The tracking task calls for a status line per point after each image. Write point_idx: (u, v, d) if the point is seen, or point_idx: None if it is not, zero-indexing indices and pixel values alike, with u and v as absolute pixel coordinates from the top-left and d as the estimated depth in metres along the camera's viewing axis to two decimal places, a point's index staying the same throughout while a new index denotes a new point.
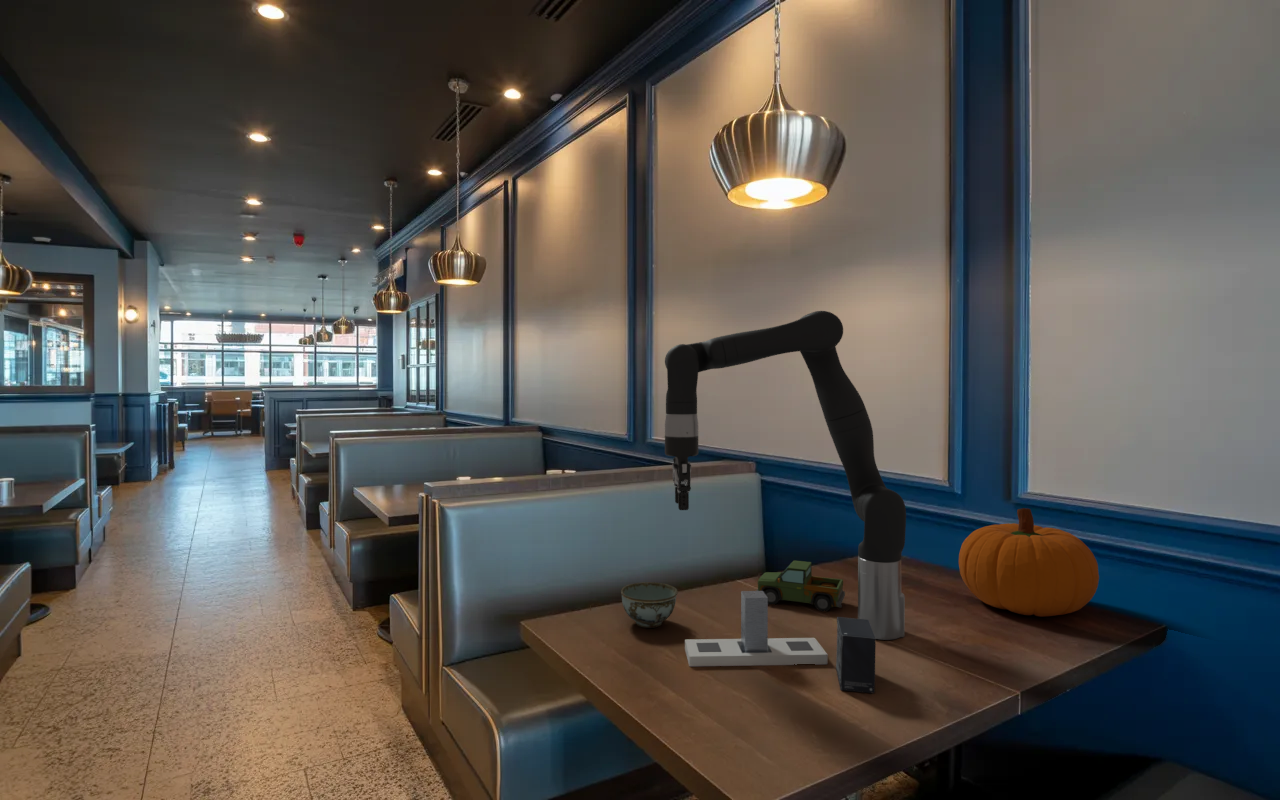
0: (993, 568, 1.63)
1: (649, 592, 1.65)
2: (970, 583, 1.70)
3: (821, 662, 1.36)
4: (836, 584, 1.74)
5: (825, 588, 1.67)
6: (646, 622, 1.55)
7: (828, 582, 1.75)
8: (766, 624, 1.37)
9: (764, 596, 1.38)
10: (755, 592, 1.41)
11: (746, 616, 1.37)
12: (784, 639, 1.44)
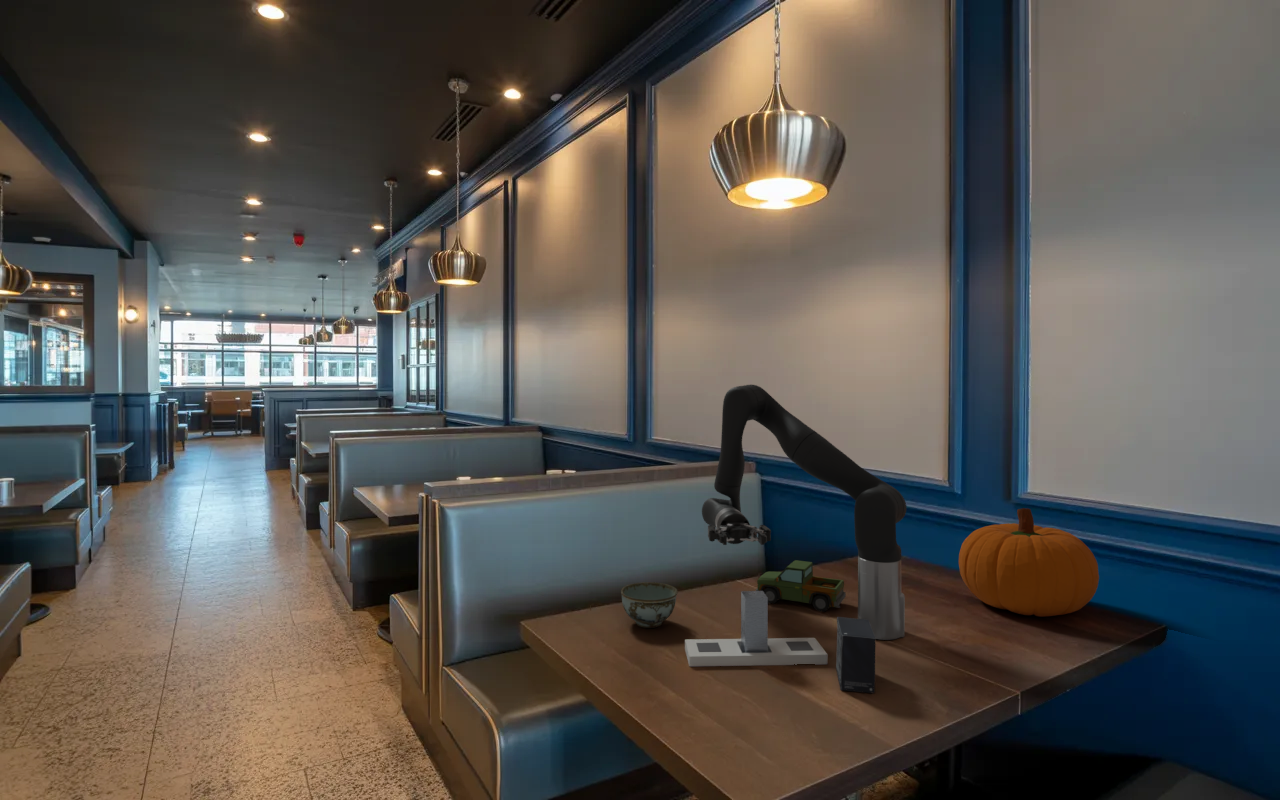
0: (993, 568, 1.63)
1: (648, 592, 1.65)
2: (970, 583, 1.70)
3: (821, 662, 1.36)
4: (837, 585, 1.74)
5: (823, 588, 1.67)
6: (646, 622, 1.55)
7: (829, 582, 1.75)
8: (766, 624, 1.37)
9: (764, 596, 1.38)
10: (755, 592, 1.41)
11: (746, 616, 1.37)
12: (784, 639, 1.44)
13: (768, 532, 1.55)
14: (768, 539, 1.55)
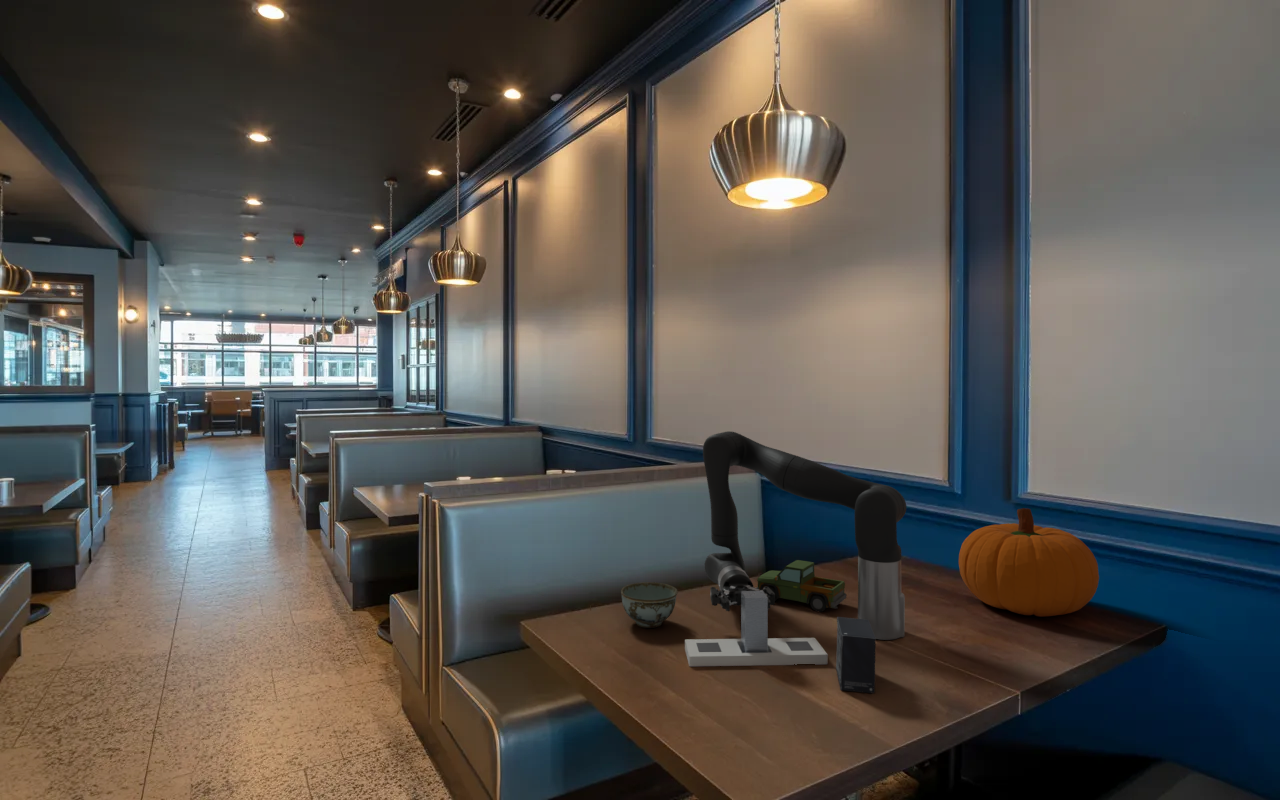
0: (993, 568, 1.63)
1: (648, 592, 1.65)
2: (970, 583, 1.70)
3: (821, 662, 1.36)
4: None
5: (821, 588, 1.67)
6: (646, 622, 1.55)
7: (830, 583, 1.74)
8: (766, 624, 1.37)
9: (764, 596, 1.38)
10: (755, 592, 1.41)
11: (746, 616, 1.37)
12: (784, 639, 1.44)
13: (772, 596, 1.51)
14: (772, 603, 1.51)
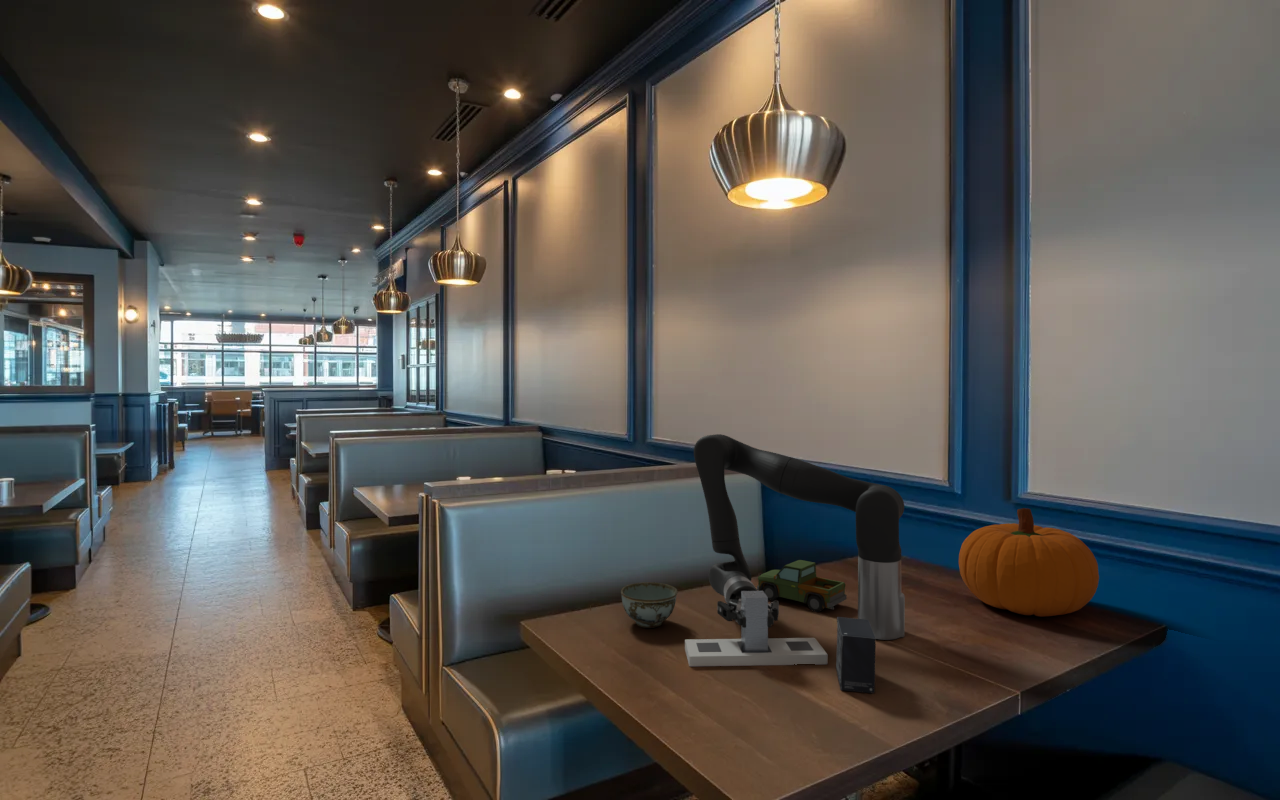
0: (993, 568, 1.63)
1: (648, 592, 1.65)
2: (970, 583, 1.70)
3: (821, 662, 1.36)
4: None
5: (817, 589, 1.67)
6: (646, 622, 1.55)
7: (830, 584, 1.73)
8: (767, 624, 1.37)
9: (764, 596, 1.38)
10: (755, 592, 1.41)
11: (746, 616, 1.37)
12: (784, 639, 1.44)
13: (774, 611, 1.41)
14: (774, 619, 1.41)
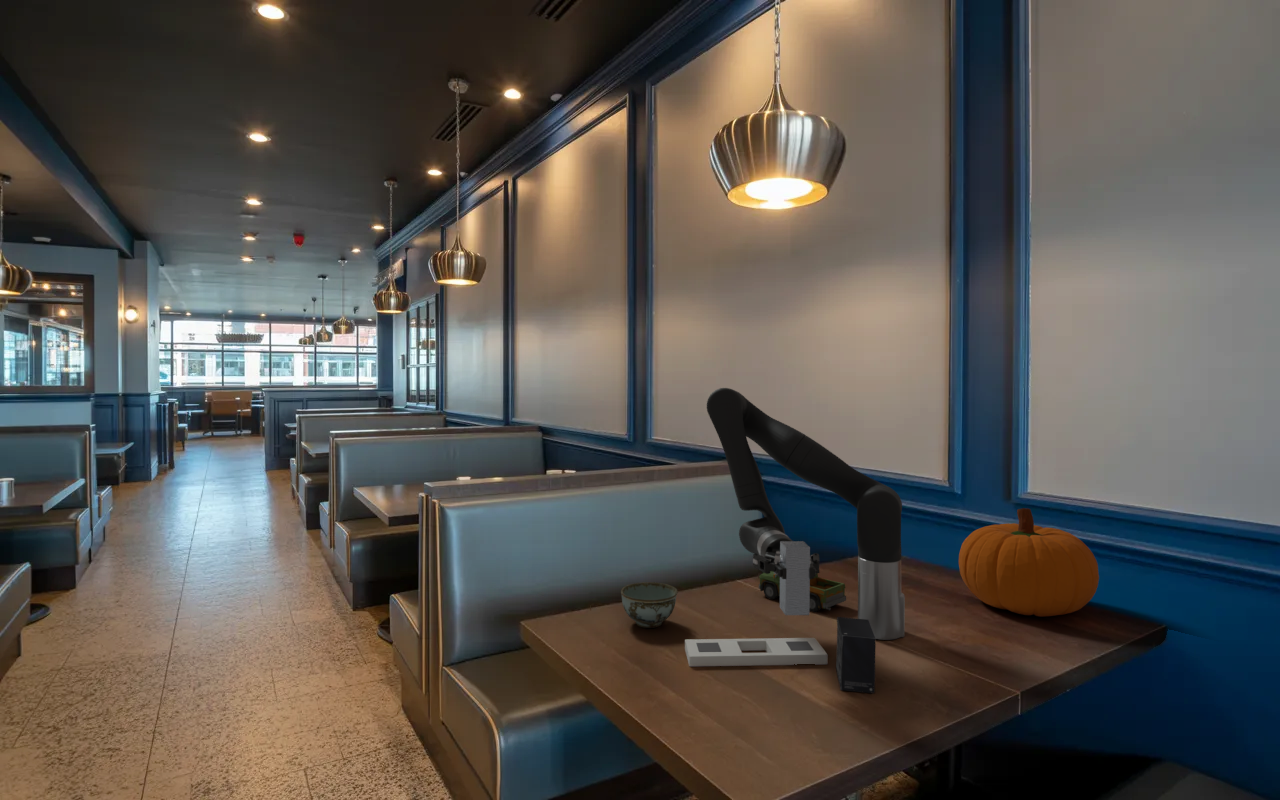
0: (993, 568, 1.63)
1: (648, 592, 1.65)
2: (970, 583, 1.70)
3: (821, 662, 1.36)
4: None
5: (814, 589, 1.67)
6: (646, 622, 1.55)
7: (831, 585, 1.73)
8: (809, 576, 1.27)
9: (806, 546, 1.28)
10: (795, 542, 1.31)
11: (787, 567, 1.27)
12: (784, 639, 1.44)
13: (815, 563, 1.31)
14: (815, 571, 1.31)
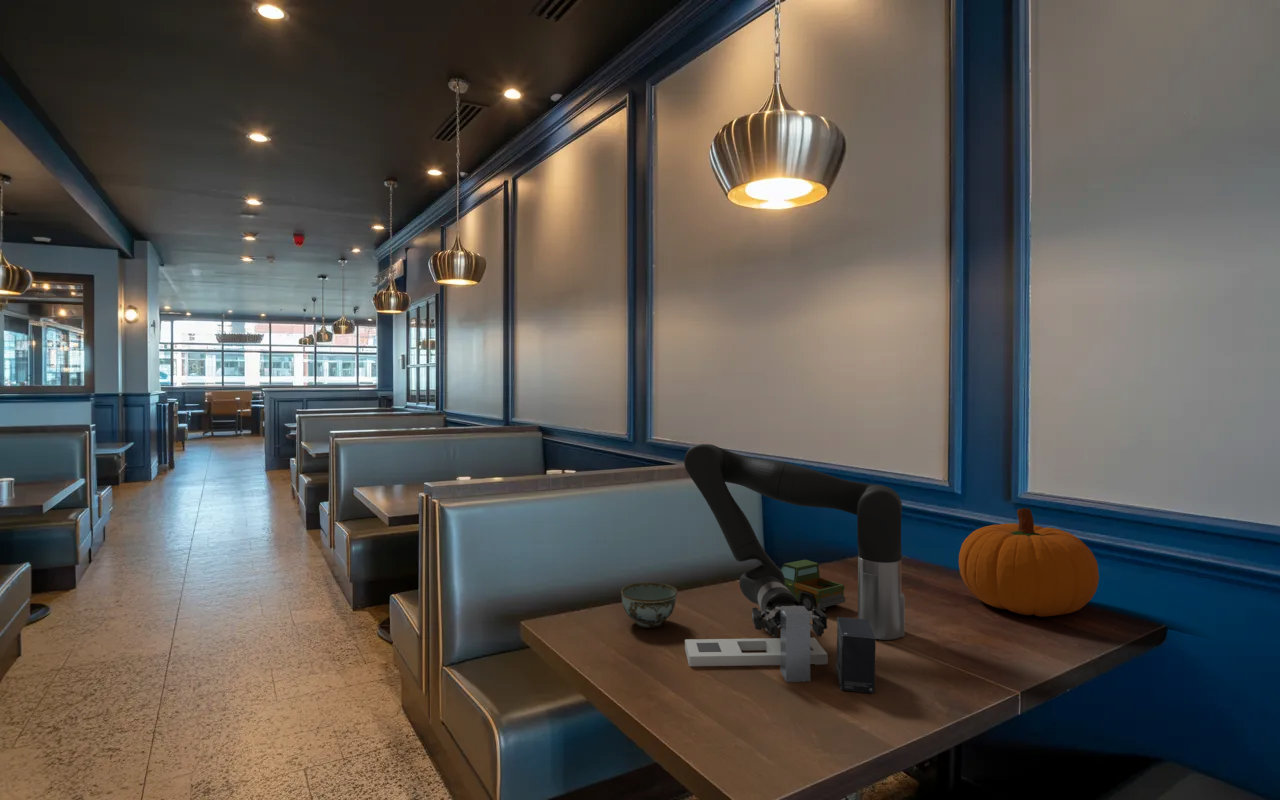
0: (993, 568, 1.63)
1: (648, 592, 1.65)
2: (970, 583, 1.70)
3: (821, 662, 1.36)
4: None
5: (810, 588, 1.67)
6: (646, 622, 1.55)
7: (831, 585, 1.72)
8: (809, 643, 1.28)
9: (806, 612, 1.28)
10: (796, 607, 1.31)
11: (787, 633, 1.28)
12: None
13: (824, 619, 1.32)
14: (824, 627, 1.32)
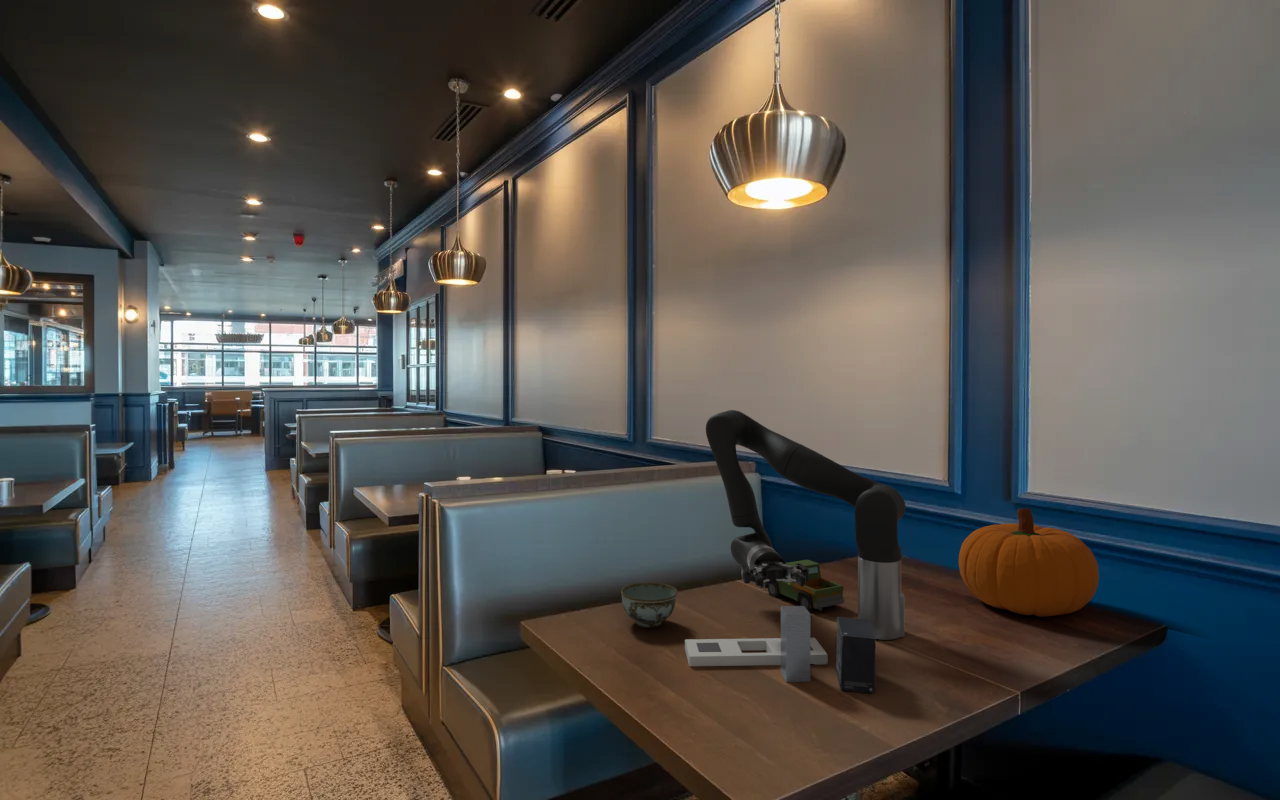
0: (993, 568, 1.63)
1: (648, 592, 1.65)
2: (970, 583, 1.70)
3: (821, 662, 1.36)
4: None
5: (807, 588, 1.67)
6: (646, 622, 1.55)
7: (831, 586, 1.72)
8: (809, 643, 1.28)
9: (806, 612, 1.28)
10: (796, 607, 1.31)
11: (787, 634, 1.28)
12: None
13: (806, 572, 1.46)
14: (806, 579, 1.46)
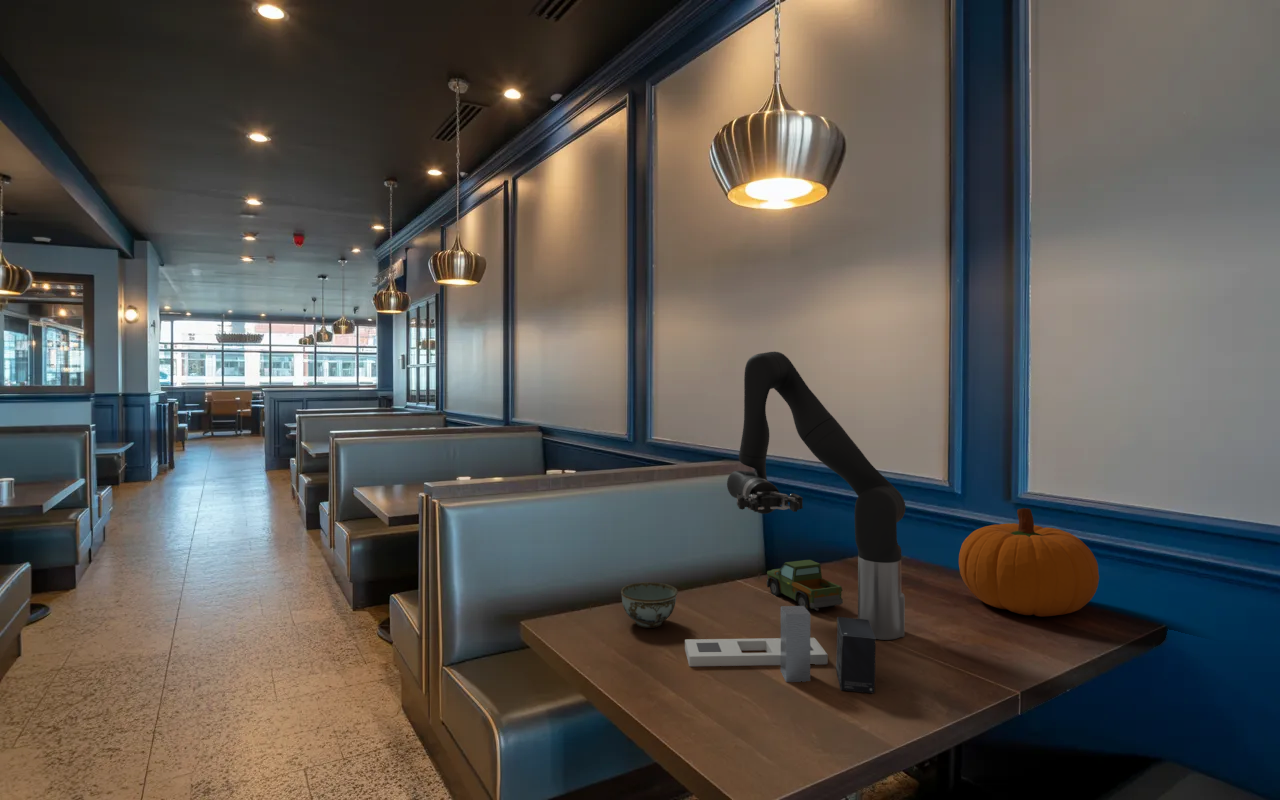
0: (993, 568, 1.63)
1: (648, 592, 1.65)
2: (970, 583, 1.70)
3: (821, 662, 1.36)
4: None
5: (804, 588, 1.68)
6: (646, 622, 1.55)
7: (830, 587, 1.71)
8: (809, 643, 1.28)
9: (806, 612, 1.28)
10: (796, 607, 1.31)
11: (787, 634, 1.28)
12: None
13: (800, 499, 1.50)
14: (800, 507, 1.50)
